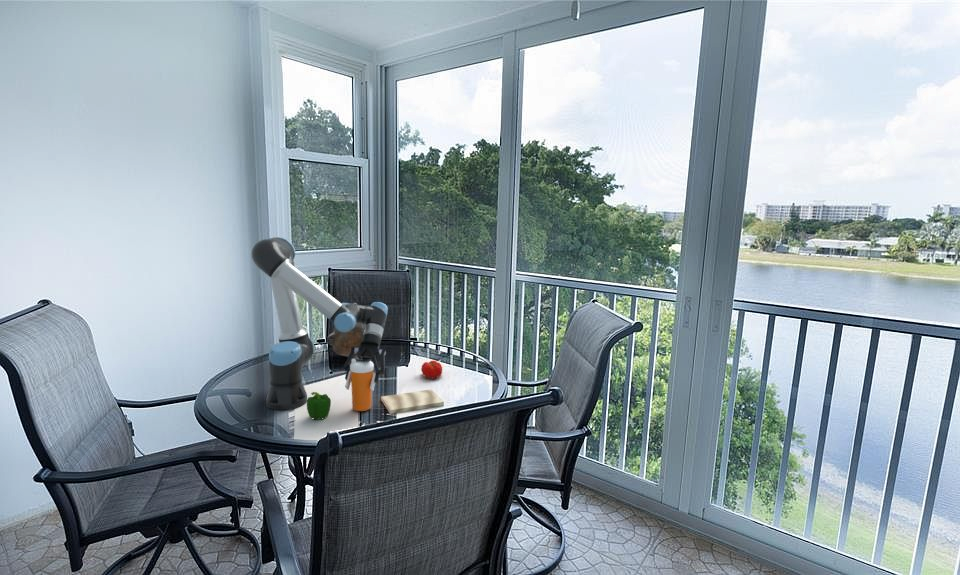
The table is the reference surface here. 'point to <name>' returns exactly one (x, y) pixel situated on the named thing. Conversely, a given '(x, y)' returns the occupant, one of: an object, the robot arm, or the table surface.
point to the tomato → (431, 369)
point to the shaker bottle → (361, 383)
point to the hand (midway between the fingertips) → (359, 389)
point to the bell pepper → (318, 405)
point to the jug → (347, 339)
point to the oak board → (411, 401)
